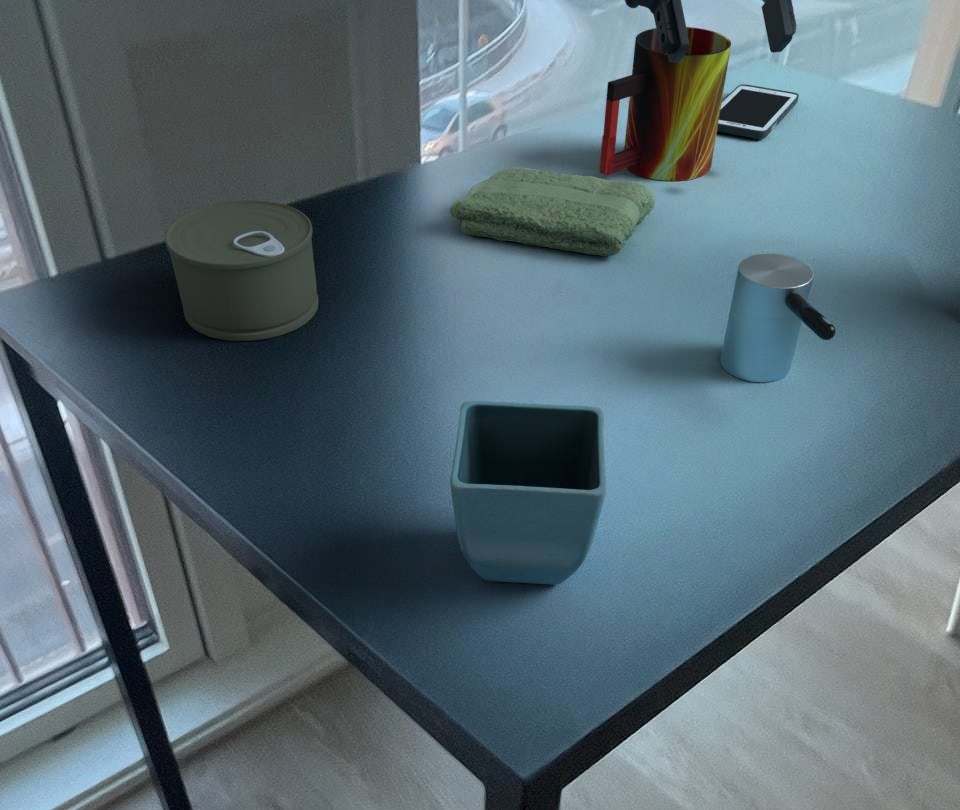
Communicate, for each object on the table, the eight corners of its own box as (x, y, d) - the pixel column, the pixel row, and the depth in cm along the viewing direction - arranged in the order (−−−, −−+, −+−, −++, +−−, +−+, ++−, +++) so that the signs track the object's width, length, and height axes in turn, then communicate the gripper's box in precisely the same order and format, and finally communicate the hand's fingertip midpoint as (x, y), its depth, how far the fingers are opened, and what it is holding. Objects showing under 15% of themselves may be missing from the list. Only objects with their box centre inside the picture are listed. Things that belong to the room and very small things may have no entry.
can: (269, 262, 94) (257, 187, 89) (348, 309, 88) (341, 231, 83) (155, 305, 88) (136, 228, 83) (232, 358, 82) (216, 278, 77)
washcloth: (496, 184, 107) (496, 152, 104) (657, 213, 102) (661, 180, 99) (444, 234, 98) (443, 201, 96) (616, 268, 93) (620, 234, 91)
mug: (596, 185, 106) (607, 60, 98) (638, 141, 115) (652, 21, 106) (685, 202, 104) (704, 74, 95) (721, 155, 112) (741, 34, 104)
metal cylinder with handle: (708, 352, 83) (725, 258, 77) (768, 341, 84) (790, 249, 79) (774, 425, 76) (799, 328, 70) (840, 413, 77) (869, 316, 71)
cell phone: (799, 101, 124) (801, 93, 123) (763, 141, 115) (765, 132, 114) (738, 91, 126) (740, 82, 125) (699, 129, 117) (700, 120, 116)
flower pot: (591, 518, 68) (604, 404, 62) (593, 609, 62) (607, 493, 56) (462, 512, 69) (461, 398, 62) (451, 602, 62) (448, 486, 56)
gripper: (617, -207, 69) (665, 30, 70) (800, -213, 72) (843, 13, 73) (583, -126, 77) (626, 87, 77) (750, -135, 80) (790, 70, 81)
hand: (732, 51), depth 75 cm, fingers open, 8 cm apart
